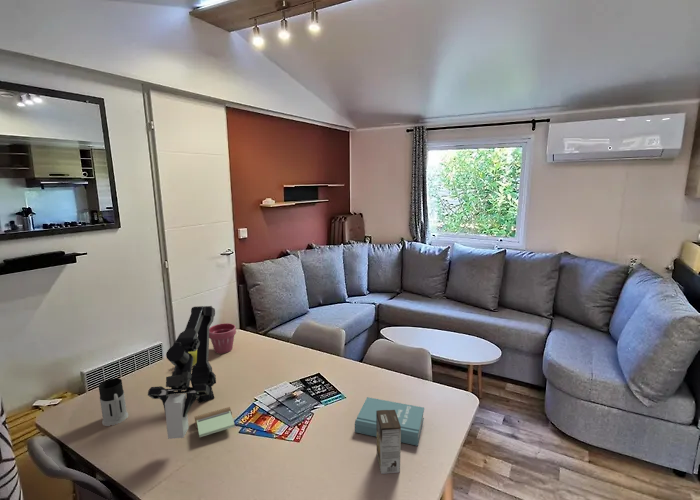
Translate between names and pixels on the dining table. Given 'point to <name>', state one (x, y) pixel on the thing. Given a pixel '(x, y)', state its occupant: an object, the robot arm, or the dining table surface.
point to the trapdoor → (215, 423)
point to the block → (176, 416)
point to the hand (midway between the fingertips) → (175, 418)
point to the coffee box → (388, 441)
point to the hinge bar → (211, 414)
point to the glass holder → (112, 402)
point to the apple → (194, 357)
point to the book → (406, 414)
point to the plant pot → (222, 337)
